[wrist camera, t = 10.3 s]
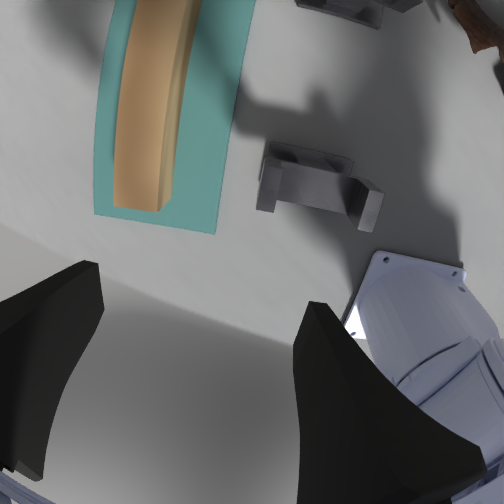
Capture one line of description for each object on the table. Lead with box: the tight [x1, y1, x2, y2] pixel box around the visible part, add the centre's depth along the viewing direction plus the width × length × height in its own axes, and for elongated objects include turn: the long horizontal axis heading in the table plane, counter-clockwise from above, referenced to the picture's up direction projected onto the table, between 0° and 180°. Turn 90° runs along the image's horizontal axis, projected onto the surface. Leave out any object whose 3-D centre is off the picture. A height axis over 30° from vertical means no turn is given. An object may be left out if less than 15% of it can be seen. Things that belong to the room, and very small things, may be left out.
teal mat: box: [94, 0, 256, 234], centre depth 14 cm, size 9×22×1 cm, turn 170°
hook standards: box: [256, 0, 423, 233], centre depth 12 cm, size 6×15×6 cm, turn 170°
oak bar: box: [113, 0, 202, 213], centre depth 13 cm, size 3×18×3 cm, turn 170°
